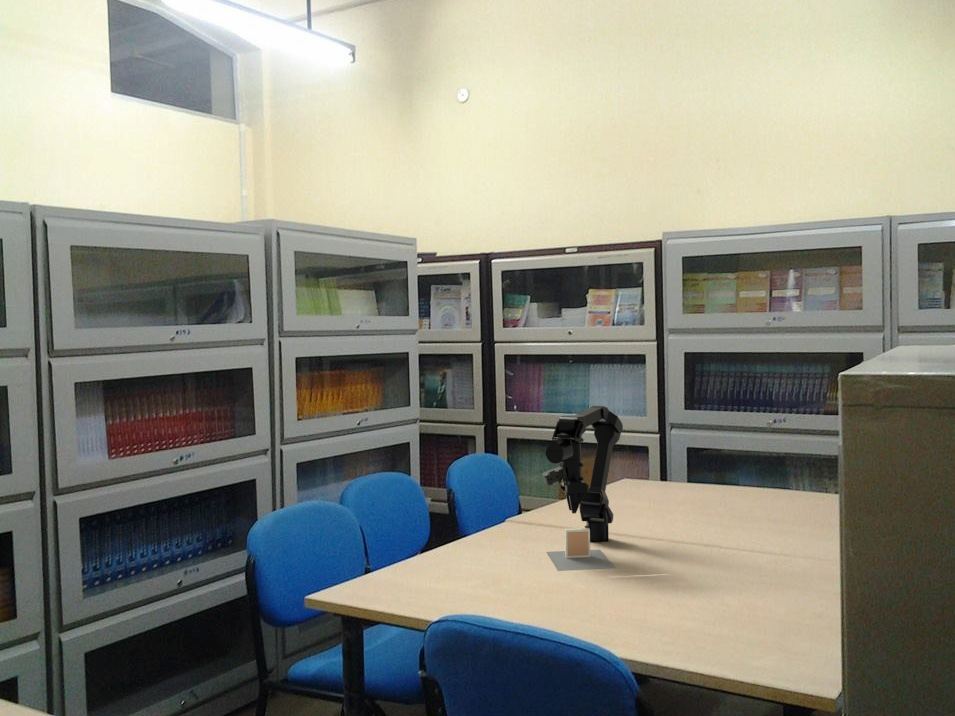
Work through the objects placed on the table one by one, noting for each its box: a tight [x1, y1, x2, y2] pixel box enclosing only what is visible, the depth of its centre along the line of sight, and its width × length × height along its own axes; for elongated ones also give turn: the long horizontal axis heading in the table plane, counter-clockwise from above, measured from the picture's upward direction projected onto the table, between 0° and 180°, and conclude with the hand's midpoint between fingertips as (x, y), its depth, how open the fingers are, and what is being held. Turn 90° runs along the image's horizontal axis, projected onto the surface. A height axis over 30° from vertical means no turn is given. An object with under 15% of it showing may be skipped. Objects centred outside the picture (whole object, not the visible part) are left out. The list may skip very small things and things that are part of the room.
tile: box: [564, 527, 591, 558], centre depth 247 cm, size 7×2×8 cm, turn 95°
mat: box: [545, 549, 617, 572], centre depth 244 cm, size 16×20×1 cm
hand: (572, 511), depth 253 cm, fingers open, 4 cm apart
